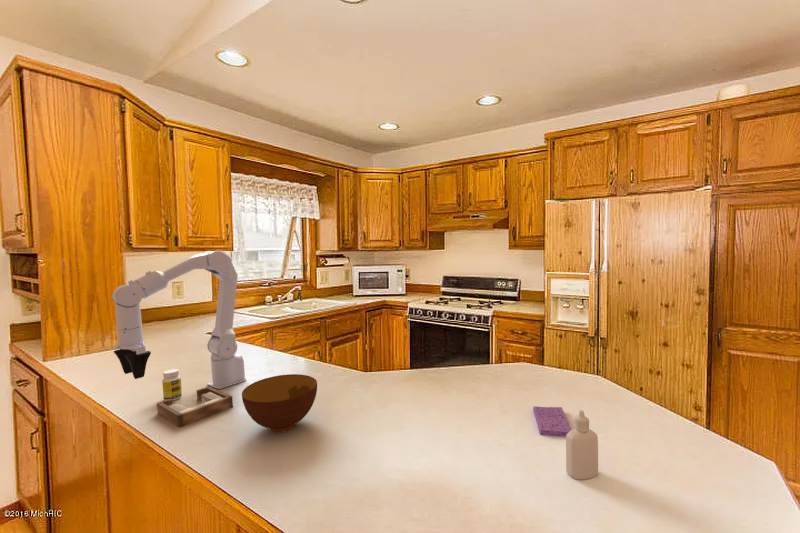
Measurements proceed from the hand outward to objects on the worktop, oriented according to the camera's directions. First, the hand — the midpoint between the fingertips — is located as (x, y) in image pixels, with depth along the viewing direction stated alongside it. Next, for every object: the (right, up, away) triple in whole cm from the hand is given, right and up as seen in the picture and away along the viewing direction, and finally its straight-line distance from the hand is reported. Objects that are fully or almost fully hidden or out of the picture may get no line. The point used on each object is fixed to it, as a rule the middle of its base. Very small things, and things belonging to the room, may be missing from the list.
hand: (134, 375), depth 105 cm
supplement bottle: (+6, -9, +7) cm, 14 cm away
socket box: (+18, -9, -2) cm, 21 cm away
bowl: (+46, -9, -13) cm, 49 cm away
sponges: (+112, -7, -16) cm, 113 cm away
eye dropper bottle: (+109, -8, -36) cm, 115 cm away
